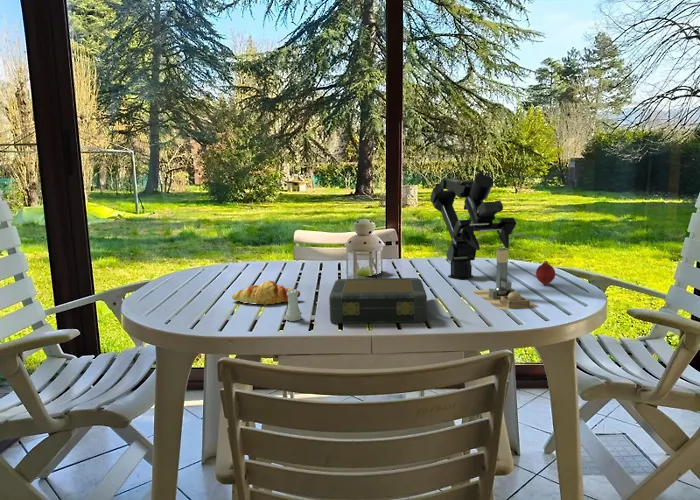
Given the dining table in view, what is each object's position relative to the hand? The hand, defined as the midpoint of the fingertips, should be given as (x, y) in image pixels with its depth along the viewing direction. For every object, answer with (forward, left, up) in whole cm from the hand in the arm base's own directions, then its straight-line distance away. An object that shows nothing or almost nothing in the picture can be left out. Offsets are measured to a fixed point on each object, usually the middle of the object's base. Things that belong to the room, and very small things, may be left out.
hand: (493, 248), depth 144 cm
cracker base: (+7, -6, -14) cm, 17 cm away
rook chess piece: (-26, -55, -14) cm, 63 cm away
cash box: (-14, -35, -15) cm, 41 cm away
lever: (+7, -6, -12) cm, 16 cm away
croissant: (-47, -50, -15) cm, 70 cm away
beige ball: (+13, -10, -13) cm, 21 cm away
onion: (+6, +22, -14) cm, 27 cm away
